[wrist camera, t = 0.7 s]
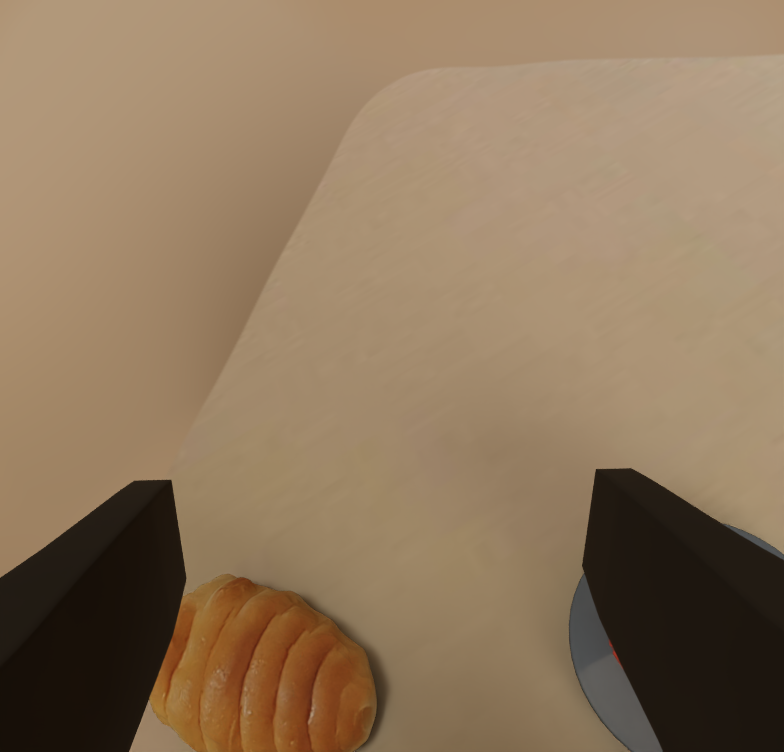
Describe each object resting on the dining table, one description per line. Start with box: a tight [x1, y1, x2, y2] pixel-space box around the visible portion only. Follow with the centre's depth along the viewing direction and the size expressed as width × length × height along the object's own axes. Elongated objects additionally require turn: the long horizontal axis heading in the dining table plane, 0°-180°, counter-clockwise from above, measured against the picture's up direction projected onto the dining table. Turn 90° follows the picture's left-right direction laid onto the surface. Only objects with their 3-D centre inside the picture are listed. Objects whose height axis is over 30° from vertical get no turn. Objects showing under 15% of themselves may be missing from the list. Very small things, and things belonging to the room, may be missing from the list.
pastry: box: [149, 574, 377, 752], centre depth 26 cm, size 9×7×4 cm
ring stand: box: [569, 523, 784, 752], centre depth 20 cm, size 8×8×6 cm
